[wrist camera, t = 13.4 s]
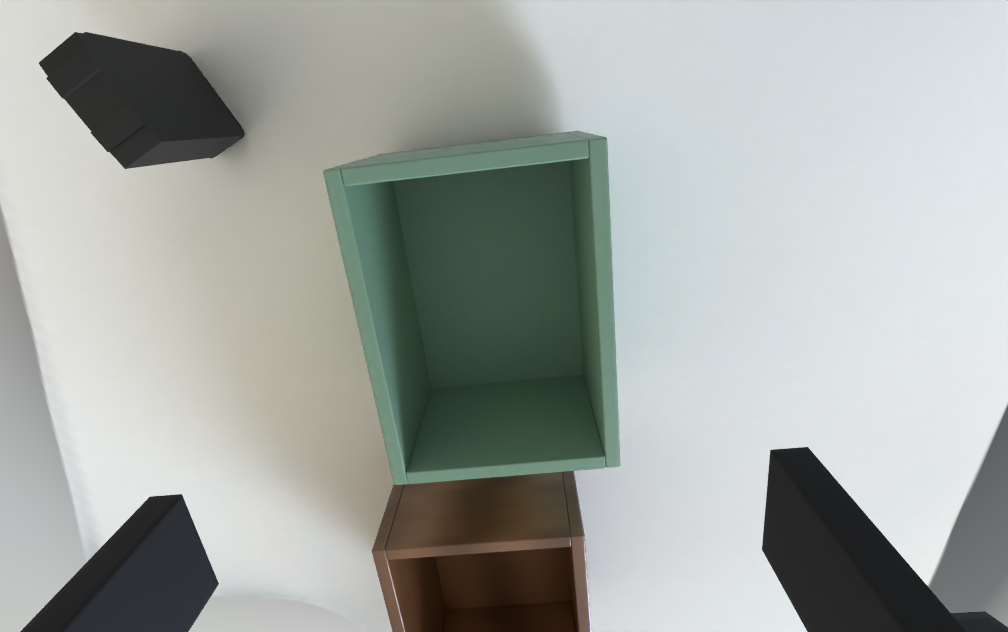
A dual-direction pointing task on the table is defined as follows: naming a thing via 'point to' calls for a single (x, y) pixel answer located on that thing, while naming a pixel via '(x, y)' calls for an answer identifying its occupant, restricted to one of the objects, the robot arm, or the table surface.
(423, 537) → the bottom basket
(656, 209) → the table surface
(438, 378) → the box
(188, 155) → the ink cartridge
